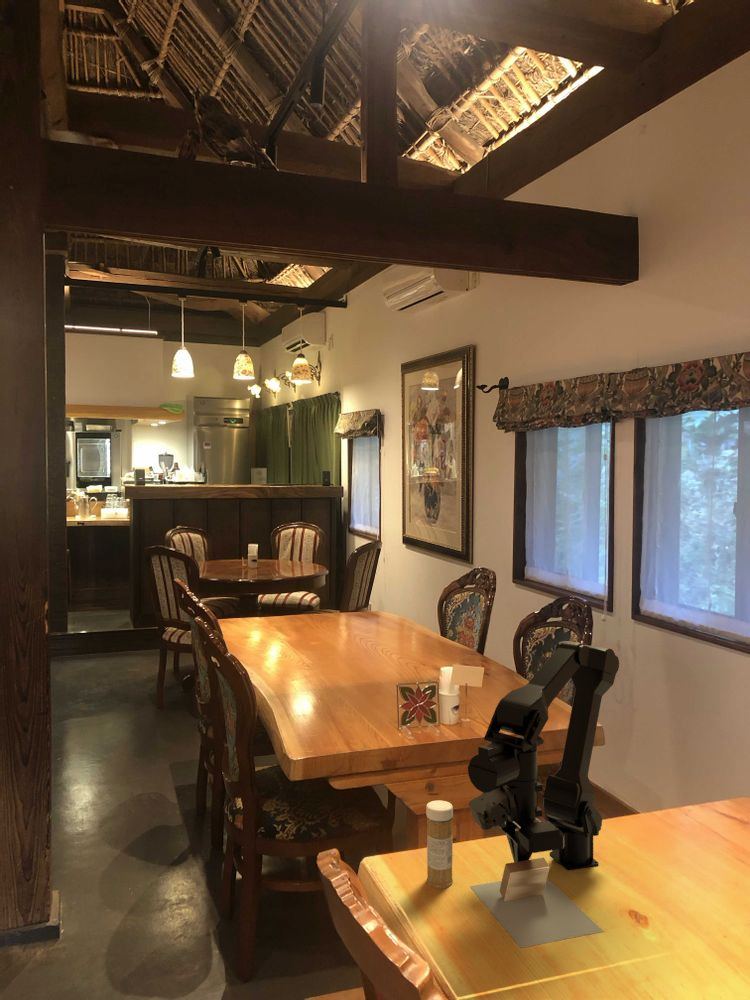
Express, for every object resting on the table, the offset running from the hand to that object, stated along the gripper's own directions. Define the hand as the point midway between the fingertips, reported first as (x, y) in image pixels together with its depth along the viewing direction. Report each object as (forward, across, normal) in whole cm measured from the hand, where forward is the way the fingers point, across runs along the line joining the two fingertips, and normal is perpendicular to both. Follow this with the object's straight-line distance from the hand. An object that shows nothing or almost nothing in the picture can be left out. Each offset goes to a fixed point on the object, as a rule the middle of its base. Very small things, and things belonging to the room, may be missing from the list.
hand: (519, 869), depth 121 cm
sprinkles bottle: (+5, -8, -11) cm, 14 cm away
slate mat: (+4, +4, 0) cm, 6 cm away
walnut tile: (+4, 0, 0) cm, 4 cm away
